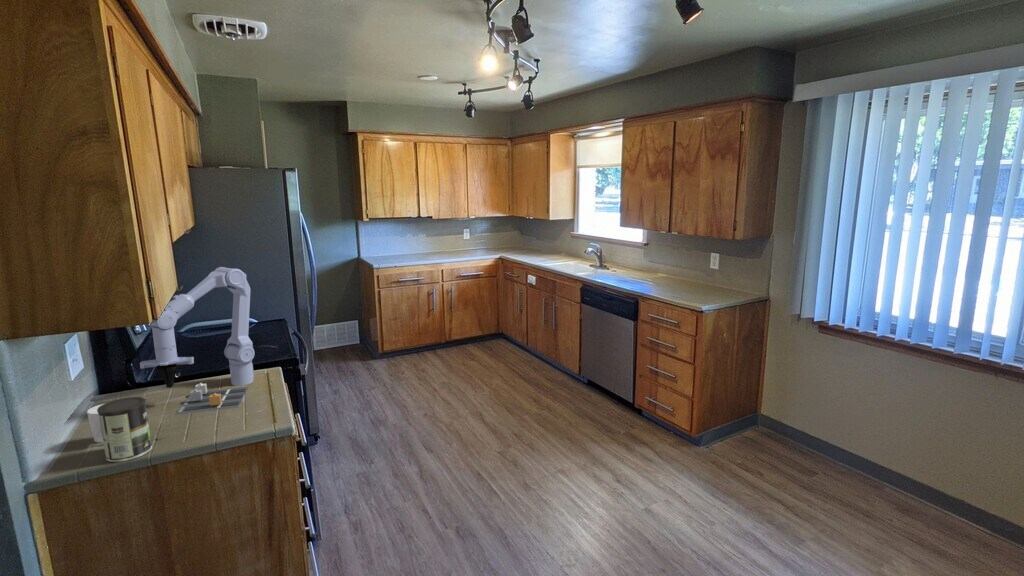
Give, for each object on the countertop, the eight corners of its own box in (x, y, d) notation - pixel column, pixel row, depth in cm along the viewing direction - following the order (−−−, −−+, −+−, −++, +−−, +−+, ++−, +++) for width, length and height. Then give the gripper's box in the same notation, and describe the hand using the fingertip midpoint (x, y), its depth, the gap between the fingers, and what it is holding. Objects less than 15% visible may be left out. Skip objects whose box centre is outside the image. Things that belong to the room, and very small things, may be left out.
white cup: (121, 431, 148) (116, 400, 146) (131, 439, 144) (126, 406, 142) (88, 442, 142) (82, 409, 140) (97, 450, 137) (92, 416, 136)
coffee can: (148, 440, 143) (141, 393, 141) (155, 452, 136) (149, 404, 133) (102, 452, 136) (94, 404, 133) (108, 466, 129) (99, 415, 126)
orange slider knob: (211, 403, 164) (210, 393, 163) (221, 402, 165) (220, 392, 164) (209, 405, 162) (208, 395, 161) (220, 404, 163) (219, 394, 162)
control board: (191, 396, 175) (191, 392, 175) (248, 389, 180) (248, 386, 180) (174, 418, 157) (174, 414, 157) (238, 410, 163) (238, 406, 162)
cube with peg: (192, 399, 167) (191, 389, 167) (202, 398, 168) (201, 388, 168) (190, 401, 165) (189, 391, 165) (201, 400, 166) (200, 390, 166)
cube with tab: (197, 392, 173) (196, 383, 172) (207, 391, 174) (206, 382, 173) (195, 394, 171) (194, 385, 170) (205, 393, 172) (204, 384, 171)
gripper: (134, 352, 155) (139, 393, 158) (187, 348, 160) (192, 388, 162) (142, 346, 162) (147, 385, 164) (193, 342, 166) (198, 380, 169)
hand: (170, 386), depth 164 cm, fingers closed
